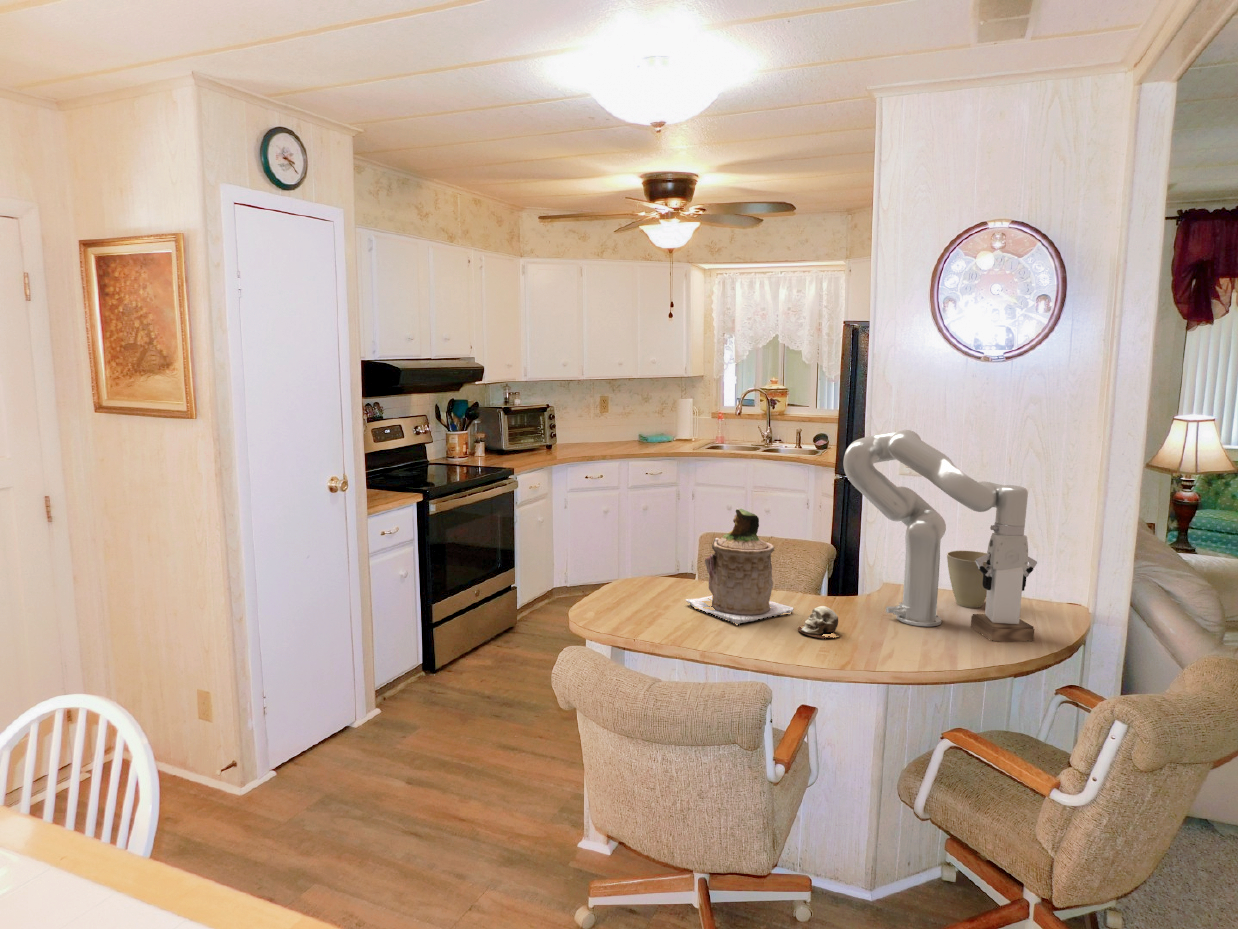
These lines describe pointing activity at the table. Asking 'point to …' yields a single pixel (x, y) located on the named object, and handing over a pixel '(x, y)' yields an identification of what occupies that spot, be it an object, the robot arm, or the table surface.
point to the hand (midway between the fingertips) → (1003, 589)
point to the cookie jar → (741, 574)
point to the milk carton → (1005, 596)
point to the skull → (820, 622)
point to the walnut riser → (1002, 629)
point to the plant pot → (966, 578)
